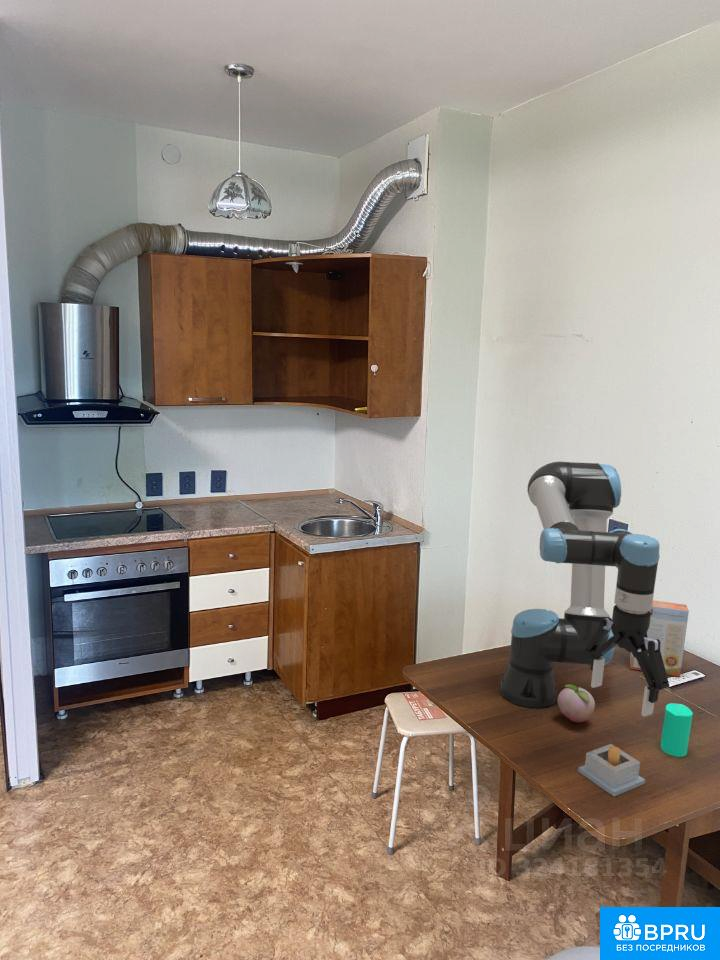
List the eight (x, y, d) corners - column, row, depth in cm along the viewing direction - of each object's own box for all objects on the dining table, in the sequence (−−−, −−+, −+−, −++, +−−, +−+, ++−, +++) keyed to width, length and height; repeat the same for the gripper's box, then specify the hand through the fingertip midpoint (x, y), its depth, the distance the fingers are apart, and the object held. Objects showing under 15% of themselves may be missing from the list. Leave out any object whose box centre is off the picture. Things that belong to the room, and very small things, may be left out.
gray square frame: (584, 768, 160) (586, 752, 159) (609, 759, 164) (611, 743, 163) (613, 788, 153) (615, 771, 152) (638, 778, 157) (640, 762, 156)
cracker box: (678, 669, 214) (687, 603, 210) (680, 678, 209) (689, 610, 205) (628, 661, 218) (636, 596, 214) (629, 669, 213) (637, 603, 209)
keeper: (578, 771, 160) (581, 743, 159) (608, 760, 165) (612, 732, 164) (613, 796, 152) (617, 767, 150) (644, 783, 157) (648, 755, 155)
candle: (664, 739, 175) (670, 694, 173) (690, 749, 171) (697, 703, 169) (656, 749, 170) (663, 703, 168) (682, 759, 167) (689, 713, 164)
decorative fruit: (600, 726, 180) (604, 689, 178) (578, 734, 176) (582, 697, 174) (571, 709, 188) (575, 674, 186) (549, 716, 183) (553, 680, 182)
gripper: (575, 591, 159) (565, 678, 164) (672, 632, 138) (658, 732, 143) (598, 586, 163) (588, 672, 167) (696, 626, 142) (682, 723, 146)
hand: (620, 699), depth 155 cm, fingers open, 13 cm apart
